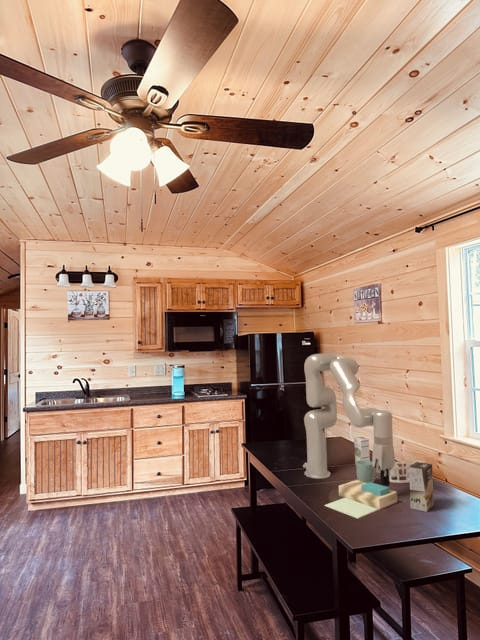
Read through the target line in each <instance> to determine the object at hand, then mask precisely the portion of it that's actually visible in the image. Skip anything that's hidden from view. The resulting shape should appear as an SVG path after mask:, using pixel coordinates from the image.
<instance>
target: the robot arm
mask: <svg viewBox="0 0 480 640" xmlns="http://www.w3.org/2000/svg"><path fill="white" fill-rule="evenodd" d="M303 370H304V376H305V393H306V397H305V398H306V403H307V405H308V406H309V407H310V408H319V409H313V410H309V411H307V412H306V413H305V415H304V417H303V421H304V422H303V423H304V428H305V432H306V433H305V434H306V455H307V462H304V464H303V465H302V468H305V469H306V470H305V471H304V476H305V475H306V477H307V478H311V479H316V480H317V479H327V478H329V477H331V472H330V471H329V470H328V455H327V454H328V453H327V452H328V451H327V449H328V448H327V437H326V435H325V432H324V430H323V429H328V428H333V427H334V426H335V425H336V423H337V420H338V414H337V413H338V411H337V410H338V409H337V395H336V393H335V391H334V389H332V388H331V387H329V386H324V379H323V376H322V374H321V372H327V371H330V372H331V374H332V376H333V378H334V379H335V382H336V383H337V385H338V386H339V388H340V390H341V392H342V407H343V410H344V413H345V414H346V416H347V418H348V420H349V421H350V423H351V424H352V425H353V426H354V427H355V428H360V429H361V428H365V427H372V426H373V443H374V444H373V447H372V454H371V455H372V457H371V458H372V460H371V461H372V466H373V468H374V469H375V473H377V474H379V476H380V479H379V480H380V485H382V486H385V487H389V486H390V485H391V484H390V483H391V482H390V480H389V476H390V470H391V469H392V468H393V466H394V465H395V462H396V456H395V449H394V437H393V415H392V412H390V411H388V410H383V409H382V410H380V409H378V408H374V407H367V408H366V407H365V408H360V407H359V406H358V404H357V402H356V400H355V399H356V398H355V395H356V394H355V393H357V392H358V391H359V389H360V388H361V384H360V382H359V380H358V379H357V377H356V375H357V373H359V372H358V371H359V365H358V363H357V361H356V360H355V359H354V358H352V357H349V356H345V355H341V354H339V353H334V352H333V353H314V354H311V355H309V356H308V357H306V359H305V362H304V369H303Z"/></svg>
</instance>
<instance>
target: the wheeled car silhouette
mask: <svg viewBox="0 0 480 640" xmlns="http://www.w3.org/2000/svg"><path fill="white" fill-rule="evenodd" d="M416 462H420V463H426V460H425V461H424V460H419V459H418V460H416V459H415V460H407V461H405V460H403V461H401V460H400V461H395V465H394V466H393V468H392V469H391V470H390V475H389V483H398V484H402V483H403V484H404V483H406V484H407V483H410V478H409V466H411V465H412V464H414V463H416ZM399 465H401V466H399ZM400 470H401V473H402V474H400ZM394 478H397V479H394ZM400 478H405V479H401V480H400Z"/></svg>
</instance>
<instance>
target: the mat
mask: <svg viewBox="0 0 480 640" xmlns="http://www.w3.org/2000/svg"><path fill="white" fill-rule="evenodd" d="M324 507H327V508H328V509H332V510H334V511H337V512H339V513H342V514H345V515H346V516H347V515H348V516H350V517H352V518H355V519H361V518H362V517H365V516H368V515H370V514H372V513H375V512H377V511H379V509H377V508H374V507H371V506H368V505H365V504H362V503H359V502H357V501H354V500H351V499H348V498H345V497H342V498H340V499H337V500H335V501H332V502H329V503H326V504H324Z"/></svg>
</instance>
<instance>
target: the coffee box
mask: <svg viewBox="0 0 480 640" xmlns="http://www.w3.org/2000/svg"><path fill="white" fill-rule="evenodd" d="M408 474H409V478H410V482H409V499H410V503H409V504H410V506H409V507H410V509H412V510H416V511H420V512H425V513H427V512H428V511H429V510H430V509H431V508H432V507H433V506H434V503H435V502H434V483H433V481H434V480H433V477H434V476H433V464H432V463H426V462H425V463H420V462H416V463H414V464H412V465H411V466H409V473H408Z"/></svg>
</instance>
